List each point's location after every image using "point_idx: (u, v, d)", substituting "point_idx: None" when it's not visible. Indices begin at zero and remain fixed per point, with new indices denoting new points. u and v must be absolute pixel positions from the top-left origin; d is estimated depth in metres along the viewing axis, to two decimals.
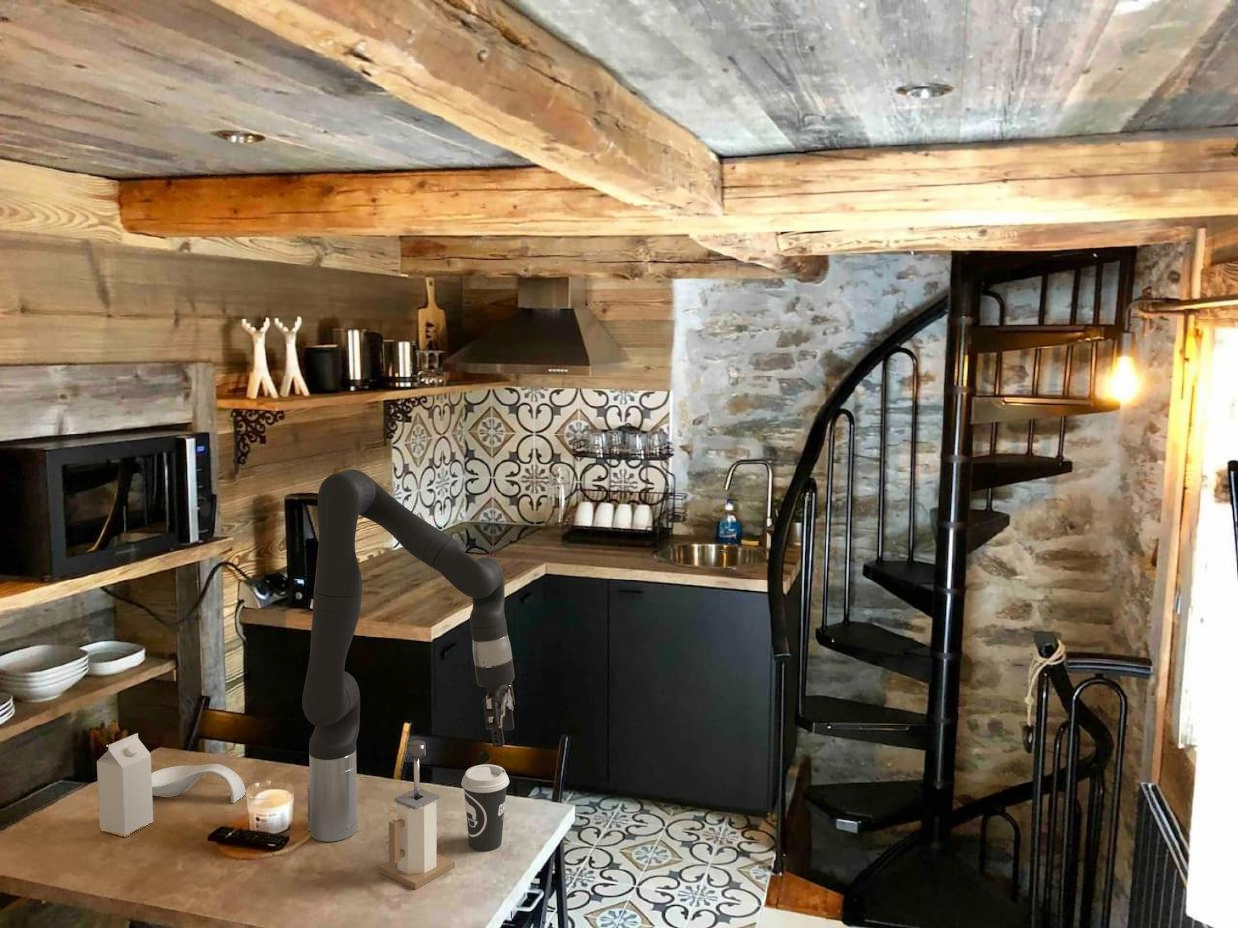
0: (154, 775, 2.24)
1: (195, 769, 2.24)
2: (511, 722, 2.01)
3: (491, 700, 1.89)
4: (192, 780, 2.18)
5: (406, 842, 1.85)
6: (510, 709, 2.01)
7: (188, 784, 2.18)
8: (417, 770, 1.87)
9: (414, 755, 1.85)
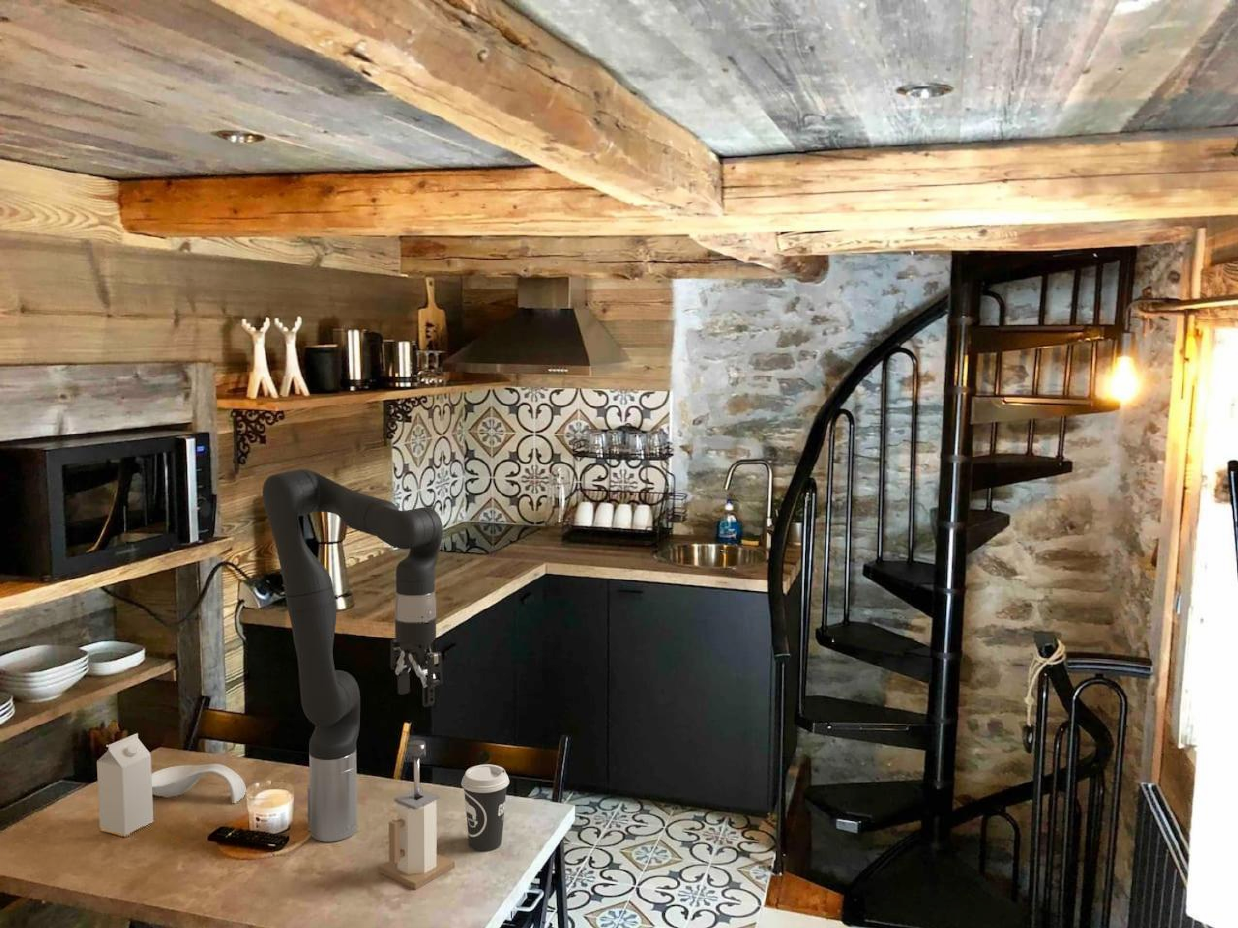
0: (156, 775, 2.24)
1: (197, 769, 2.24)
2: (408, 684, 1.89)
3: (438, 655, 1.80)
4: (193, 780, 2.18)
5: (406, 842, 1.85)
6: (408, 670, 1.89)
7: (189, 784, 2.18)
8: (417, 770, 1.87)
9: (414, 755, 1.85)
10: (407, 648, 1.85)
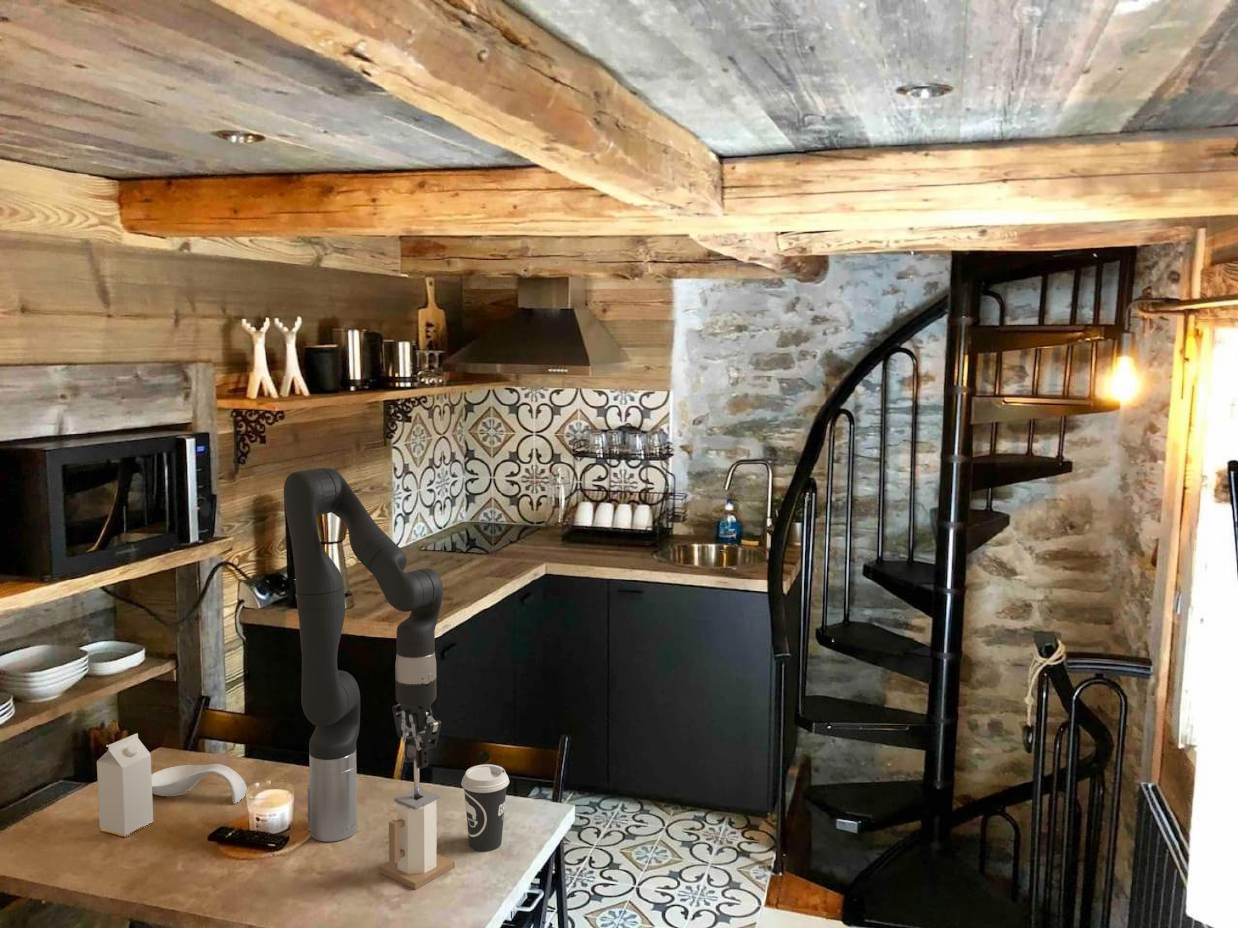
0: (158, 774, 2.24)
1: (198, 769, 2.24)
2: None
3: (438, 724, 1.82)
4: (194, 780, 2.18)
5: (406, 842, 1.85)
6: None
7: (190, 784, 2.18)
8: (417, 770, 1.87)
9: (414, 755, 1.85)
10: (408, 708, 1.86)
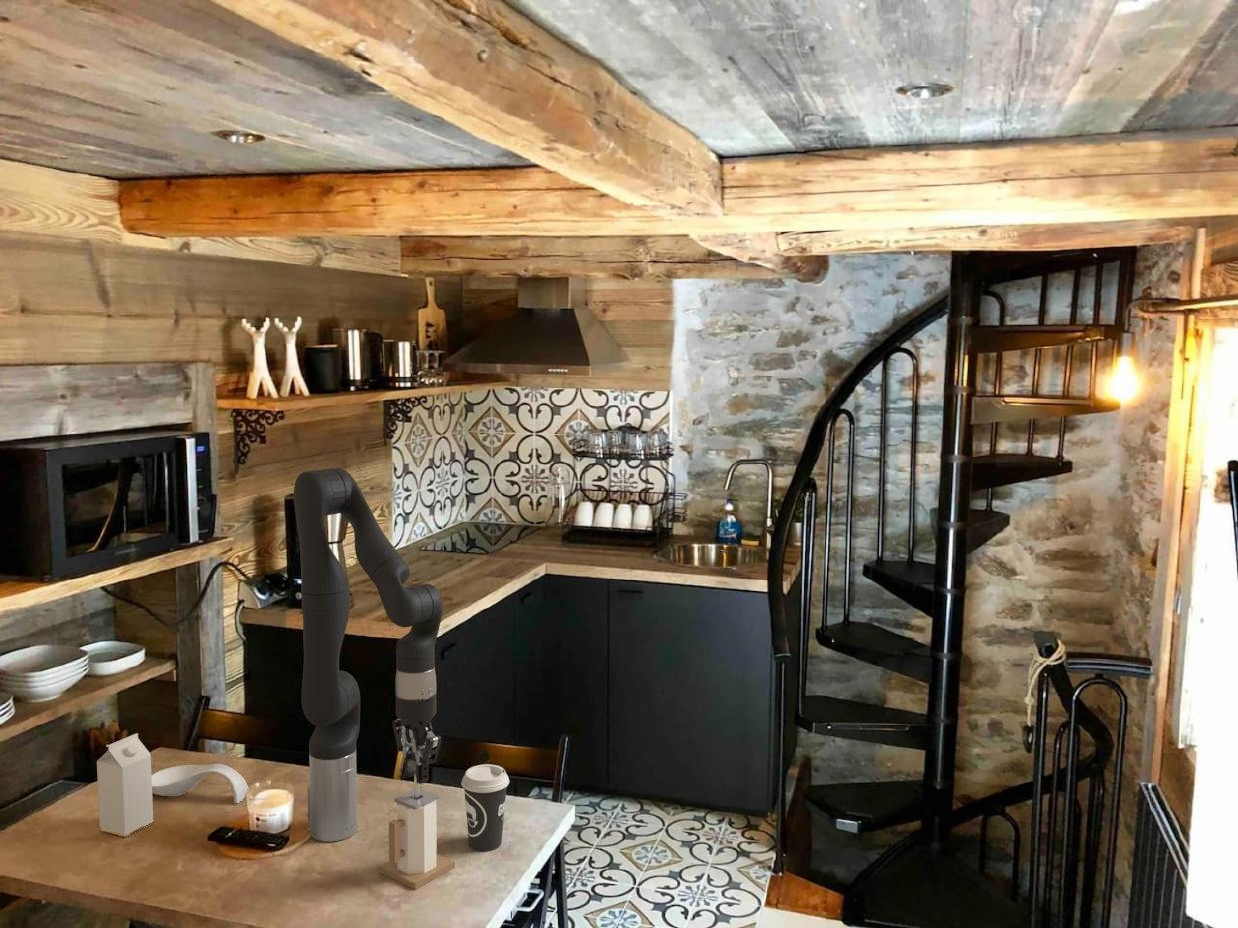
0: (159, 774, 2.24)
1: (200, 769, 2.25)
2: None
3: (438, 740, 1.82)
4: (196, 780, 2.18)
5: (406, 842, 1.85)
6: (415, 752, 1.89)
7: (192, 784, 2.18)
8: (417, 785, 1.87)
9: (414, 770, 1.86)
10: (408, 723, 1.86)
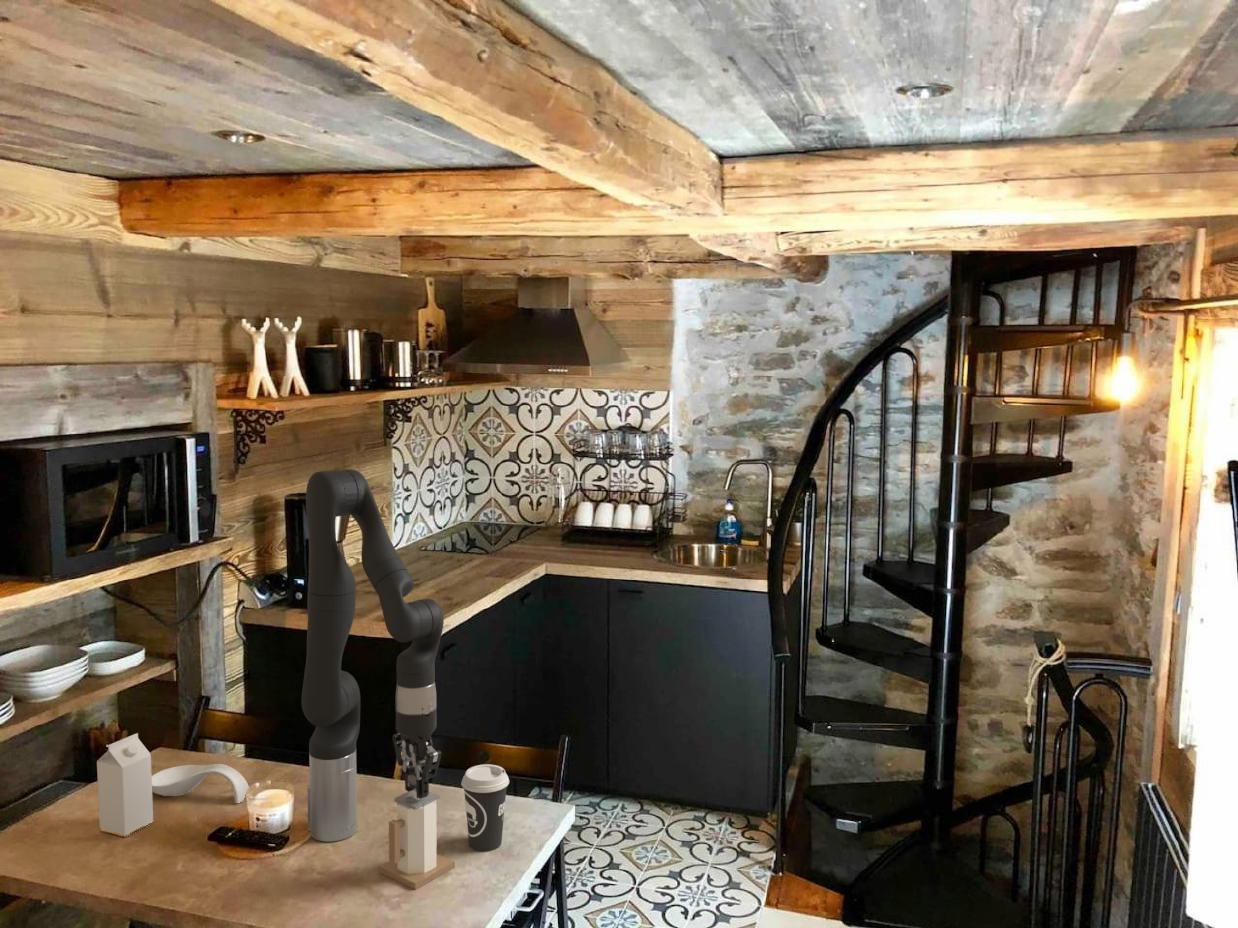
0: (161, 774, 2.24)
1: (201, 769, 2.25)
2: None
3: (438, 754, 1.82)
4: (197, 780, 2.18)
5: (406, 842, 1.85)
6: None
7: (193, 784, 2.18)
8: (417, 799, 1.88)
9: (414, 785, 1.86)
10: (408, 738, 1.87)
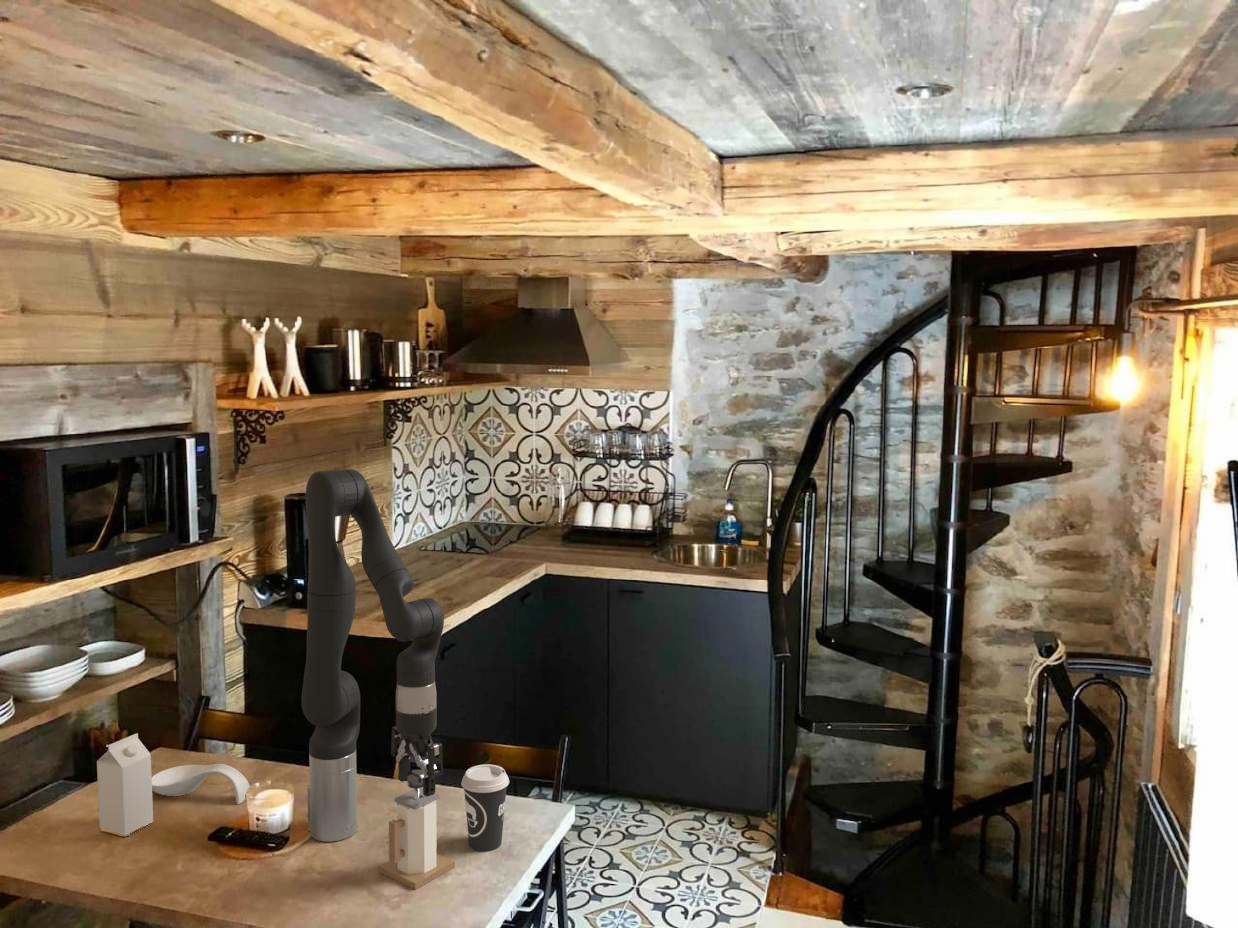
0: (163, 774, 2.25)
1: (203, 769, 2.25)
2: None
3: (438, 746, 1.82)
4: (198, 780, 2.18)
5: (406, 842, 1.85)
6: (409, 757, 1.91)
7: (194, 784, 2.18)
8: (417, 799, 1.88)
9: (414, 785, 1.86)
10: (408, 737, 1.87)
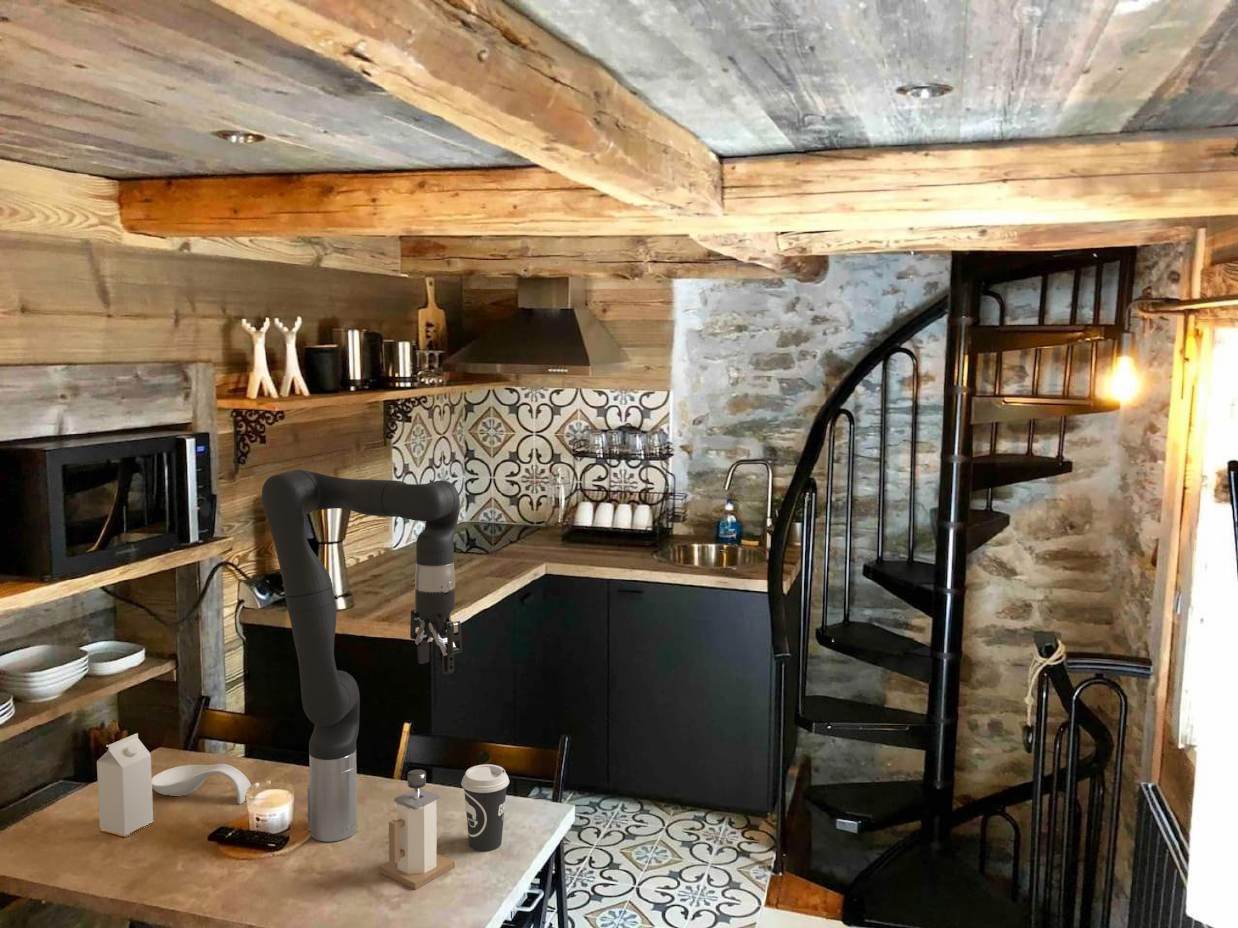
0: (164, 774, 2.25)
1: (204, 768, 2.25)
2: (427, 654, 1.94)
3: (457, 623, 1.85)
4: (200, 780, 2.18)
5: (406, 842, 1.85)
6: (428, 640, 1.94)
7: (196, 784, 2.19)
8: (417, 799, 1.88)
9: (414, 785, 1.86)
10: (427, 618, 1.90)
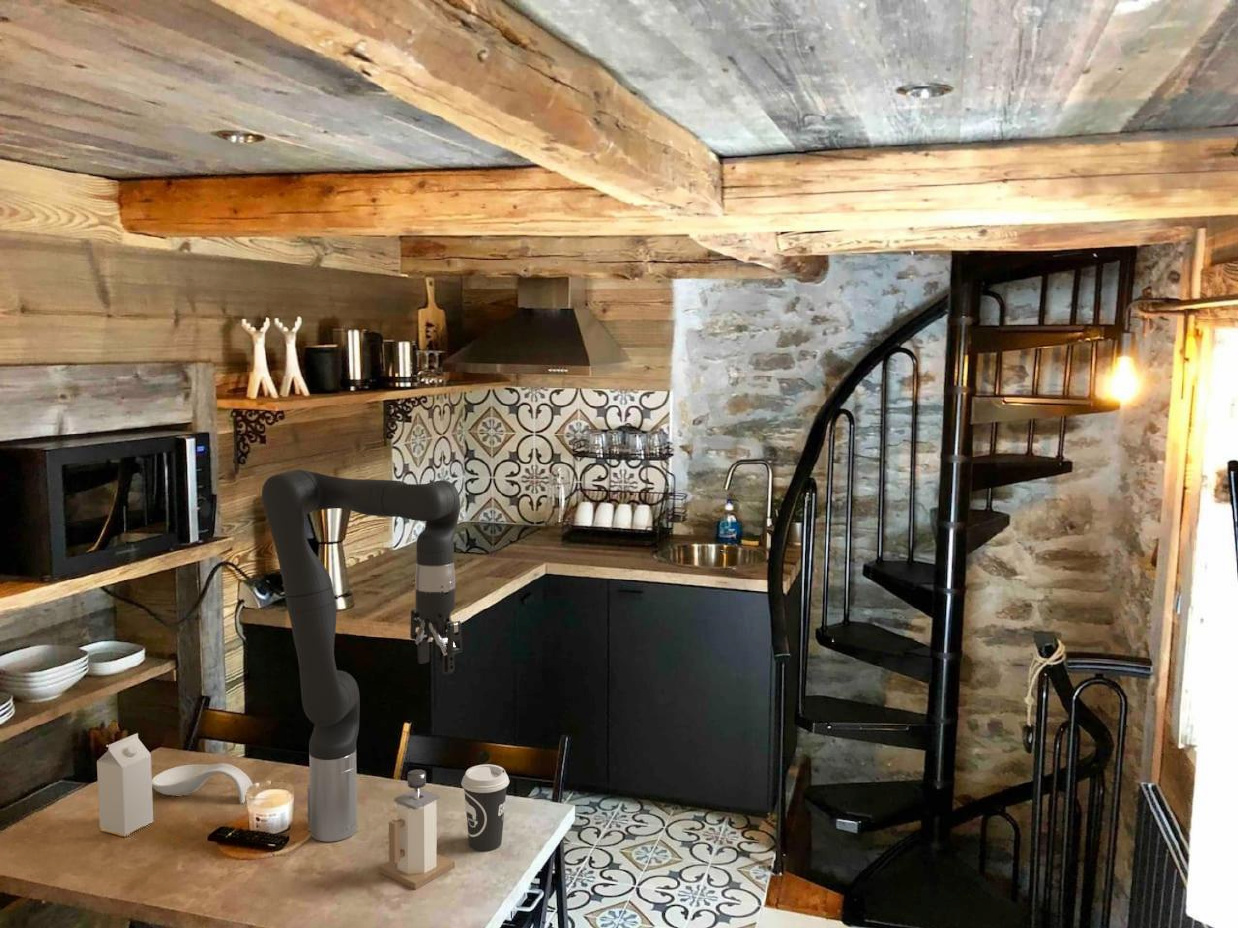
0: (165, 774, 2.25)
1: (206, 768, 2.25)
2: (428, 654, 1.94)
3: (458, 623, 1.85)
4: (202, 779, 2.18)
5: (406, 842, 1.85)
6: (428, 640, 1.94)
7: (198, 783, 2.19)
8: (417, 799, 1.88)
9: (414, 785, 1.86)
10: (427, 618, 1.90)
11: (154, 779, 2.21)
